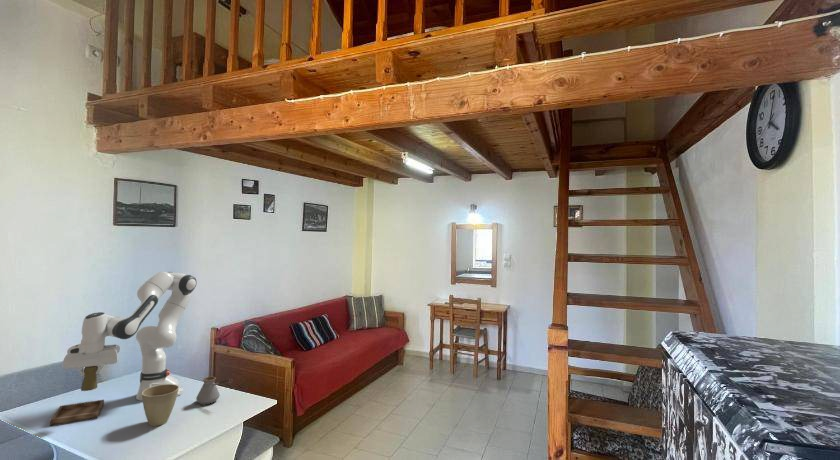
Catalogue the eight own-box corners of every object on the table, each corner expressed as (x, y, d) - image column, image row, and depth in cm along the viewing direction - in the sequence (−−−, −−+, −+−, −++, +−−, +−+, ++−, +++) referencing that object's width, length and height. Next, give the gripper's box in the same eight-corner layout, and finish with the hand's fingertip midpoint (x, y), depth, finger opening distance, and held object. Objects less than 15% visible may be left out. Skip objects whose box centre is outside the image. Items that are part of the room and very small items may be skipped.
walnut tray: (103, 405, 192) (104, 399, 192) (97, 418, 178) (97, 412, 178) (59, 411, 183) (60, 405, 183) (49, 426, 169) (50, 419, 169)
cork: (87, 391, 171) (89, 368, 172) (77, 390, 172) (79, 367, 173) (100, 386, 177) (102, 364, 177) (90, 385, 178) (92, 363, 179)
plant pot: (139, 420, 178) (142, 387, 179) (175, 413, 187) (177, 382, 188) (138, 433, 166) (141, 398, 167) (177, 425, 175) (179, 391, 176)
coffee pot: (190, 404, 198) (192, 376, 199) (208, 396, 209) (210, 370, 210) (220, 410, 192) (222, 382, 193) (237, 402, 203) (239, 375, 204)
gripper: (120, 342, 184) (118, 369, 183) (65, 347, 172) (63, 376, 172) (119, 345, 179) (117, 373, 178) (62, 351, 167) (60, 381, 167)
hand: (90, 375), depth 175 cm, fingers closed on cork, 4 cm apart
